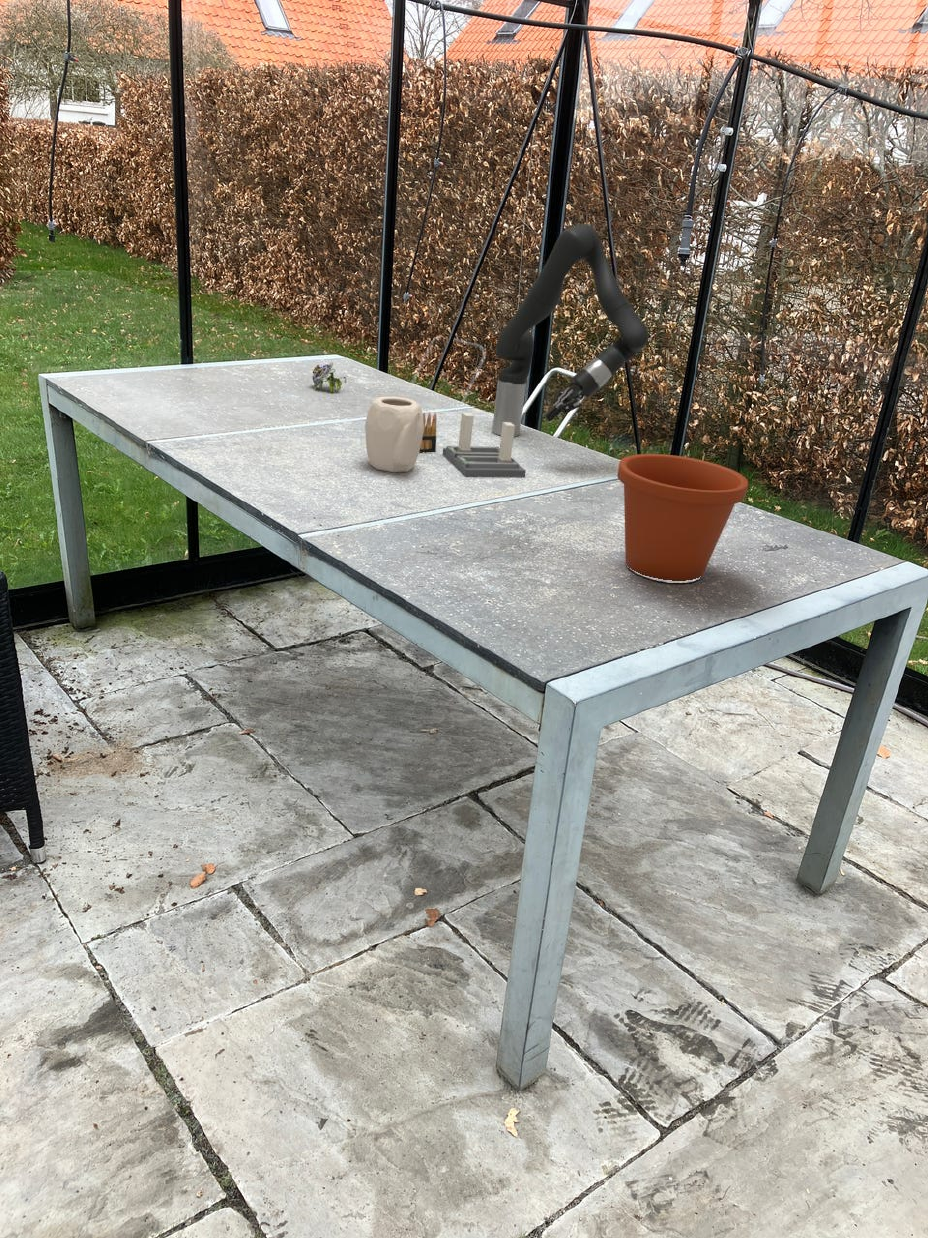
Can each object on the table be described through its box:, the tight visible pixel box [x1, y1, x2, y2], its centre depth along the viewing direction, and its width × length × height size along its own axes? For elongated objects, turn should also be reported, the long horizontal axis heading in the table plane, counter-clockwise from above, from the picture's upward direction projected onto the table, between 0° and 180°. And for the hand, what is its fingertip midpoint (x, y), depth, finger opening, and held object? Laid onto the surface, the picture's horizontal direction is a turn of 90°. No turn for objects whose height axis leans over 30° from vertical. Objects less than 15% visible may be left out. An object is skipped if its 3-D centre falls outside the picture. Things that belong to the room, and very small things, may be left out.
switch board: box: [442, 445, 527, 478], centre depth 284 cm, size 22×18×3 cm
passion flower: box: [311, 361, 347, 395], centre depth 353 cm, size 11×11×12 cm
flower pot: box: [617, 453, 749, 581], centre depth 217 cm, size 28×28×23 cm
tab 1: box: [456, 412, 475, 452], centre depth 284 cm, size 4×3×12 cm
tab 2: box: [497, 422, 515, 463], centre depth 278 cm, size 4×3×12 cm
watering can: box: [364, 396, 424, 473], centre depth 268 cm, size 16×27×19 cm, turn 29°
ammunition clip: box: [419, 412, 437, 454], centre depth 288 cm, size 11×2×12 cm, turn 117°
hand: (547, 418), depth 281 cm, fingers closed
